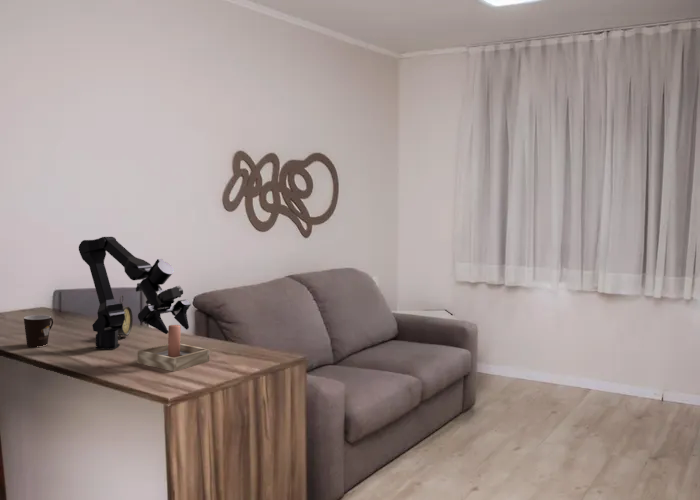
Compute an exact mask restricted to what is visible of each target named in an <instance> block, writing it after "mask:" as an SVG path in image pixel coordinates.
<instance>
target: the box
mask: <svg viewBox="0 0 700 500" xmlns="http://www.w3.org/2000/svg"><path fill="white" fill-rule="evenodd" d="M210 351H211V349H209V348H204V347H200V346H194V345H188V344H186V343H185V344H184V343H180V356H179V357H175V358H173V357H169V356H168V343H167V344H162V345H161V344H160V345H157V346H153V347H150V348H149V347H148V348H144V349H140V350H137V364H140V365H145V366H148V367H153V368H158V369H162V370H165V371H171V372H177V371H180V370H184V369H186V368H190V367H194V366H197V365H201V364H205V363H208V362H210Z"/></svg>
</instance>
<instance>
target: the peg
mask: <svg viewBox="0 0 700 500" xmlns="http://www.w3.org/2000/svg"><path fill="white" fill-rule="evenodd" d="M181 329H182V325H181V324H180V325H179V324H170V325H168V328H167V330H168V333H167V335H168V337H167V339H168V340H167V344H168V356H169V357H173V358H175V357H179V356H180V344H181V332H182V331H181Z"/></svg>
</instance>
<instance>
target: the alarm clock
mask: <svg viewBox="0 0 700 500" xmlns="http://www.w3.org/2000/svg"><path fill="white" fill-rule="evenodd" d="M119 303H122V305H123V304H124V296H123V294H121V295H120V297H119ZM123 310H124V312H125V314H124V315H125V320H124V323H123V327H122V329H118V341H120V340H121V338H122V336H123V337H124V336H129V335H130V334H131V332H132V328H133V312H132V309H131V308H130V306H127V305H125V306H124V305H123Z"/></svg>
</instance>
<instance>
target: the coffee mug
mask: <svg viewBox="0 0 700 500" xmlns="http://www.w3.org/2000/svg"><path fill="white" fill-rule="evenodd" d="M23 323H24V331H25V339H26V347H27V346H28V347H27V348H31V347H37V346H43V345H46V344H48V343H49V335H50V330H51V329H52V328H53V325H54V319H53V318H52V316H51V315H46V314H35V315H34V314H33V315H26V316H24V317H23Z"/></svg>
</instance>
